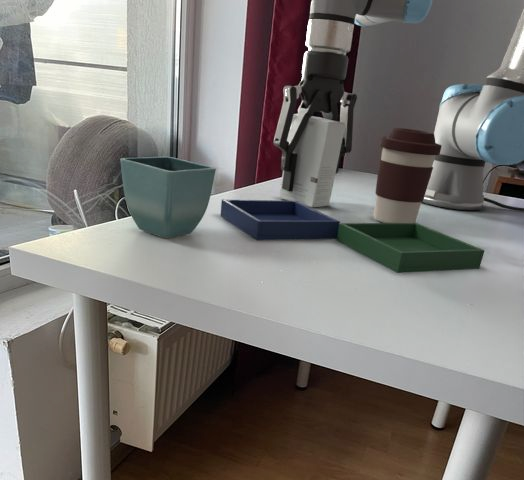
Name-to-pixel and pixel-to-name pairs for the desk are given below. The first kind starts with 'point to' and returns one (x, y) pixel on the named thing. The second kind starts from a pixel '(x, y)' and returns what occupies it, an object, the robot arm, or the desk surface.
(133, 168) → the flower pot
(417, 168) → the coffee cup
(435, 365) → the desk surface
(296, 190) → the cosmetic box
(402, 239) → the green tray
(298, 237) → the navy tray
